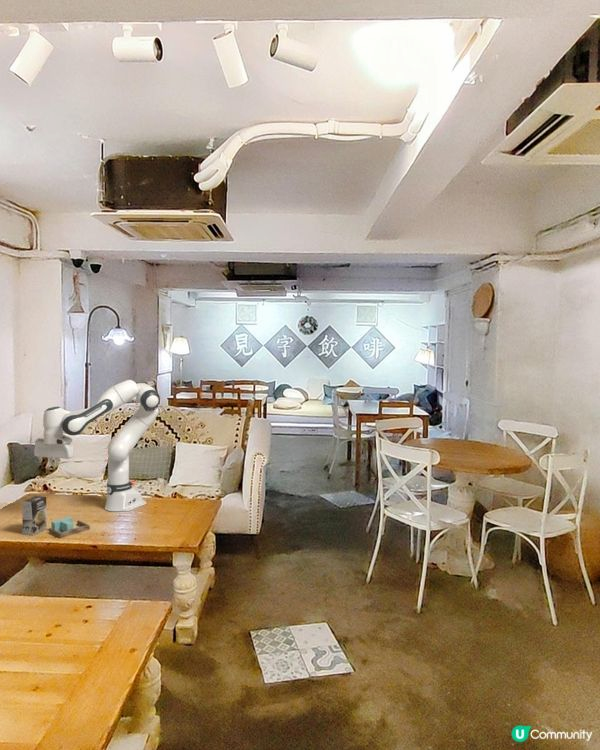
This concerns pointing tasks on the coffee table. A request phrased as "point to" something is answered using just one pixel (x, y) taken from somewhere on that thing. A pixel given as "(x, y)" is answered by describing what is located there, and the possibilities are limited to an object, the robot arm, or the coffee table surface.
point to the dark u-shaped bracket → (70, 532)
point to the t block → (62, 524)
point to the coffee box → (34, 515)
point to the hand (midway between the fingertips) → (53, 466)
